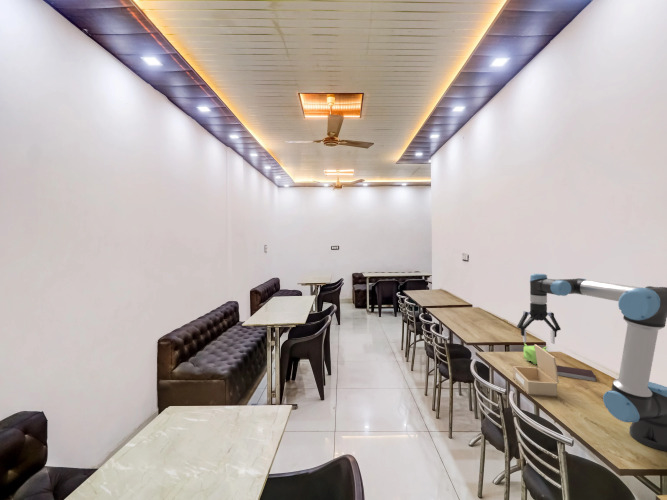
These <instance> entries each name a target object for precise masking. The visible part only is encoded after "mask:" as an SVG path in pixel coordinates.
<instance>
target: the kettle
mask: <svg viewBox="0 0 667 500" xmlns="http://www.w3.org/2000/svg"><path fill="white" fill-rule="evenodd" d="M523 344H524V346H523V359H525V360H526V361H527V362H528V361H531V362H530V363H532V364H533V365H534V364H537V359H536V352H535V345H527V344H526V343H523ZM542 349H543V350H545V351H546V352H548V350H547V349H548V346H544V347H542ZM548 353H549V352H548Z"/></svg>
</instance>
